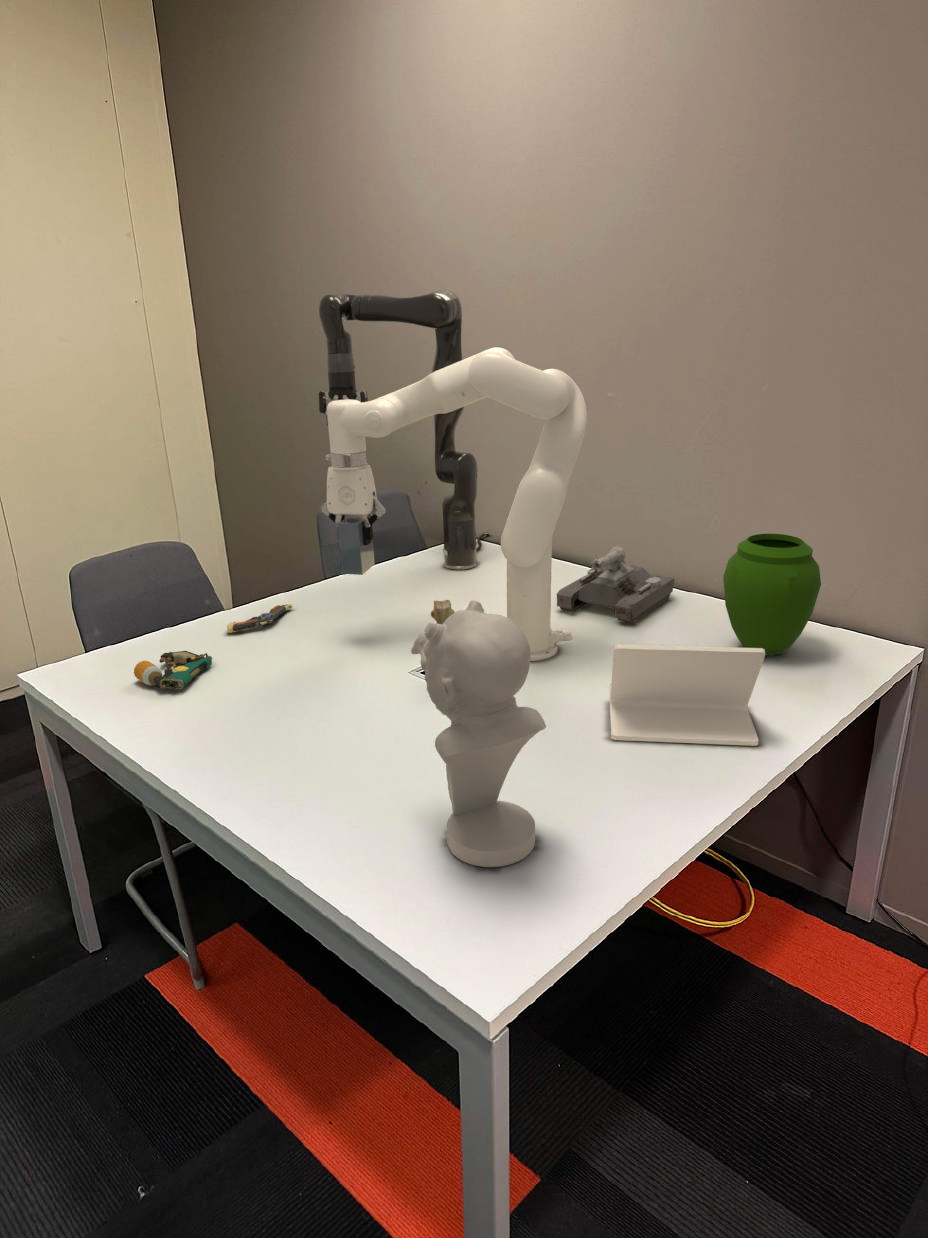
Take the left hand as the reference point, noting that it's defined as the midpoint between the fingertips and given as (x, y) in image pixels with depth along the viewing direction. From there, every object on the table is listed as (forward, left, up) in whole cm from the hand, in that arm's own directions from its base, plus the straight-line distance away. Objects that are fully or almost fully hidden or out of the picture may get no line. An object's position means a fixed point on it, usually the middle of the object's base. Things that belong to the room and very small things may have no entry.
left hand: (345, 428), depth 246 cm
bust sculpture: (+110, +99, -39) cm, 153 cm away
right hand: (+56, +42, -15) cm, 71 cm away
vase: (+22, +124, -39) cm, 132 cm away
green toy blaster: (+88, +16, -39) cm, 97 cm away
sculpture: (+61, +67, -39) cm, 98 cm away
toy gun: (+55, +10, -39) cm, 68 cm away
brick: (+55, +42, -21) cm, 72 cm away
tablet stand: (+62, +116, -39) cm, 137 cm away
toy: (+8, +85, -39) cm, 94 cm away
